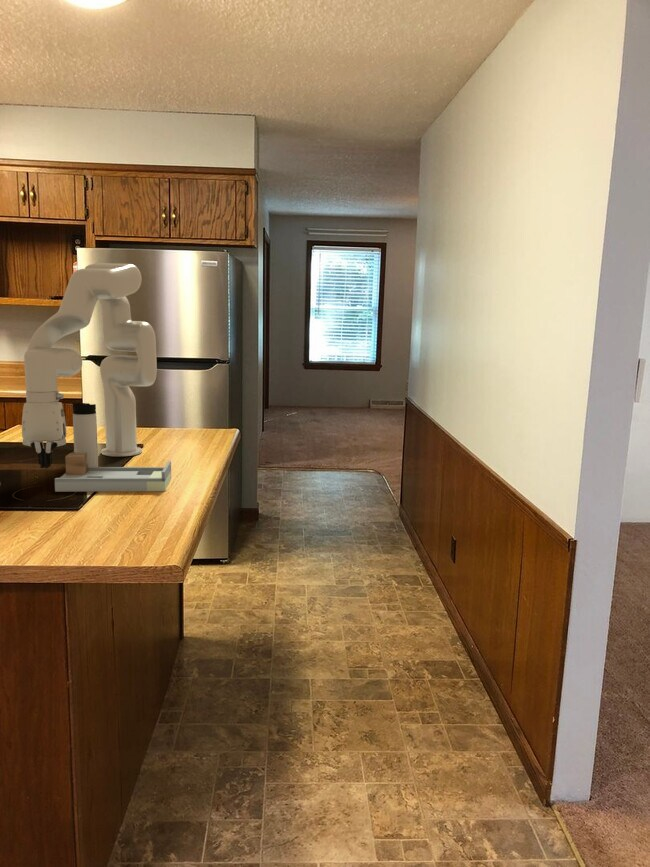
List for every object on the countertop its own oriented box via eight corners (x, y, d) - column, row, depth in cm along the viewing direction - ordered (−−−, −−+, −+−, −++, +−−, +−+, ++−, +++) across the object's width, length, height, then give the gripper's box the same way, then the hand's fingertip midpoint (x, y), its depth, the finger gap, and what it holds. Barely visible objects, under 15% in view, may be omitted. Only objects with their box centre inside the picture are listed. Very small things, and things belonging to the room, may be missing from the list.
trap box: (69, 478, 172) (68, 460, 171) (171, 478, 175) (171, 461, 175) (55, 491, 160) (54, 472, 159) (165, 491, 163) (164, 472, 162)
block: (70, 471, 171) (70, 452, 170) (88, 471, 171) (87, 452, 170) (66, 475, 166) (65, 456, 165) (83, 475, 167) (83, 456, 166)
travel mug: (69, 471, 180) (66, 401, 177) (87, 467, 186) (84, 399, 183) (84, 474, 178) (82, 403, 174) (103, 470, 183) (100, 401, 180)
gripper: (76, 396, 169) (78, 464, 172) (17, 395, 167) (21, 463, 170) (68, 400, 162) (71, 470, 165) (6, 399, 160) (10, 470, 163)
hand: (45, 466), depth 168 cm, fingers closed
